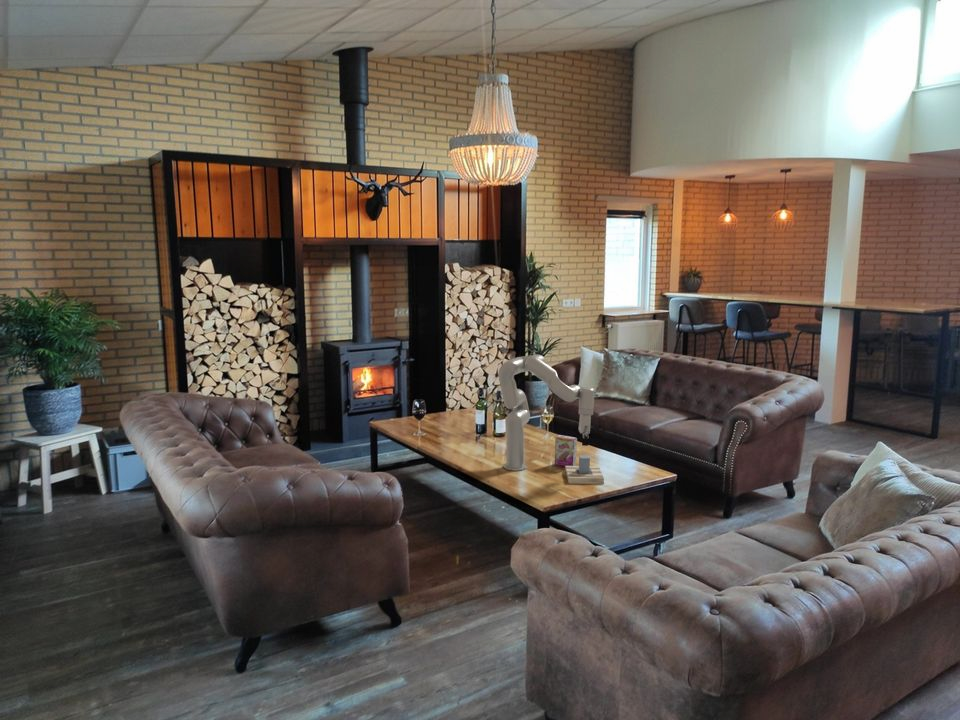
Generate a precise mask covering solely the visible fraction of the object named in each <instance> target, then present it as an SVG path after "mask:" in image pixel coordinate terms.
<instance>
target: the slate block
mask: <svg viewBox="0 0 960 720" xmlns="http://www.w3.org/2000/svg"><path fill="white" fill-rule="evenodd" d="M590 459H591V457H590V456H589V455H586V454H585V455H582V454H581V455H580V454H579V455H578V466H579V472H580V473H589V470H590V466H591V463H590V461H591V460H590Z"/></svg>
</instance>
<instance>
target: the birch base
mask: <svg viewBox="0 0 960 720" xmlns="http://www.w3.org/2000/svg"><path fill="white" fill-rule="evenodd" d="M564 472H565V476H566V479H567V483H568V484H576V485H577V484H579V485H580V484H581V485H582V484H583V485H584V484H585V485H586V484H587V485H595V484H596V485H604V484H605V478H604V475H603V472H602V471H601V469H600V466H597V465H595V466H591V465H590V470H589V473H580V472H579V465H576V466H565V468H564Z"/></svg>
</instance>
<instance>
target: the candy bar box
mask: <svg viewBox="0 0 960 720" xmlns="http://www.w3.org/2000/svg"><path fill="white" fill-rule="evenodd" d="M577 447H578V438H577V437H573V436H569V435H562V434H558V435H556V436H555V444H554V449H555V450H554V466H559V467H565V466H577V450H578V449H577Z"/></svg>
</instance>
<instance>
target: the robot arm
mask: <svg viewBox="0 0 960 720" xmlns="http://www.w3.org/2000/svg"><path fill="white" fill-rule="evenodd" d="M524 372H530V373H531V374H532V375H534V376H535V377H536V378H538V379H539V380H541V381H542V382H543V383H544V384H546V385H547V387H548V388H549V389H550V391H552V393H554V395H556V396H557V397H559V398H560V399H561V400H563V401H564V402H567V403H572V402H574V401H575V400H577V399H578V415H579V419H578V420H579V421H578V432H579V440H580V441H581V446H585V447H588V446H589V441H590V440H589V438H590V437H589V434H590V432H591V423H592V422H591V419H592V417H591V416H593V415H594V408H595V407H594V404H595V389H594V388H593V387H592V386H591V387H589V386H581V385H579V384H572V385H569V386H568V385H566V384H565V383H564V382H563V381H562V380H561V379H560V378H559V376H558V373H557V370H555V369H554V368H553V367H551V366H550V365H548V364H547V361H546V358H545V357H544V356H543V355H541V354H532V355H531V354H530V355H525V356H524V355H523V356H517V357H514V358H512V359H511V358H510V359H509V360H507V361H505V362H504V363H502V364H501V366H500V367H499V370H498V381H499V385H500V390H501V395H502V400H503V404H504V406H505V407H506V409H509V410H512V411H510V412H509V413H508V414H507V416H506V418H505V428H506V463H504V464H503V469H505V470H506V471H514V472H515V471H516V472H518V471H524V470H526V469H527V464H526V463H525V461H524V460H525V431H524V426H525V425H526V424H527V423H529V421H530V418H531V413H530V408H529V403H528V399H527V395H526V394H525V392H524V391H523V390H522V389H520V388H517V382H516V380H515V378H514V377H515V375H518V374H520V373H524Z"/></svg>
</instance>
